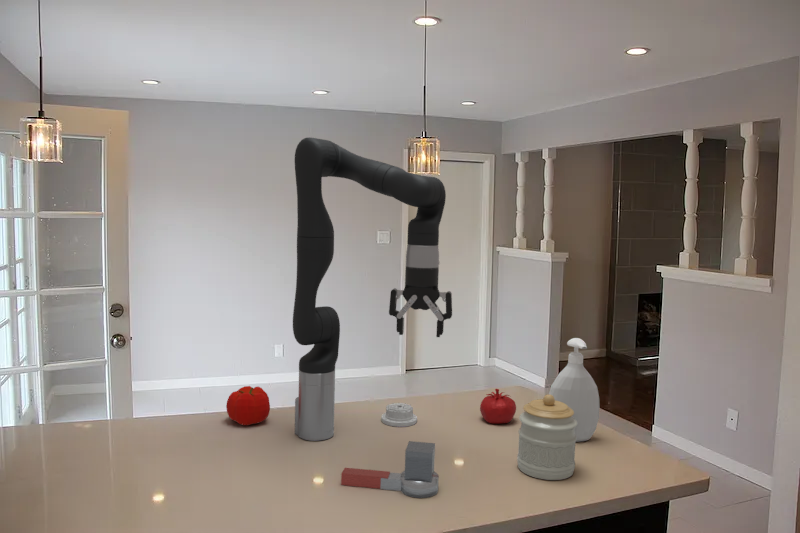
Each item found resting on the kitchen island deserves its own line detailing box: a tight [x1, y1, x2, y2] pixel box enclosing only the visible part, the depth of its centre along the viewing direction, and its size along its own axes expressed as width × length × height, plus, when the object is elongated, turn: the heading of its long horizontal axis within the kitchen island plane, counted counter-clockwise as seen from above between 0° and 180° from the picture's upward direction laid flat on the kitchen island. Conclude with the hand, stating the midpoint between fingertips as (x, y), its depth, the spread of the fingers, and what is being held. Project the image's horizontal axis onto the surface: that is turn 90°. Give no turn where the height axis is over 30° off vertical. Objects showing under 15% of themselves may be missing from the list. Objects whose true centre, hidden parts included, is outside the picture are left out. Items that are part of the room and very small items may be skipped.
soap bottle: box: [548, 337, 601, 443], centre depth 163 cm, size 14×8×27 cm, turn 99°
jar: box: [516, 393, 577, 481], centre depth 144 cm, size 13×13×18 cm
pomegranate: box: [479, 388, 517, 425], centre depth 177 cm, size 10×10×9 cm
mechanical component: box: [380, 402, 418, 428], centre depth 175 cm, size 10×4×10 cm
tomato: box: [225, 385, 271, 426], centre depth 170 cm, size 11×12×9 cm
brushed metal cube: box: [404, 440, 436, 482], centre depth 132 cm, size 6×6×6 cm
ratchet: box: [340, 467, 440, 499], centre depth 133 cm, size 20×8×7 cm, turn 81°
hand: (419, 335), depth 144 cm, fingers open, 8 cm apart
